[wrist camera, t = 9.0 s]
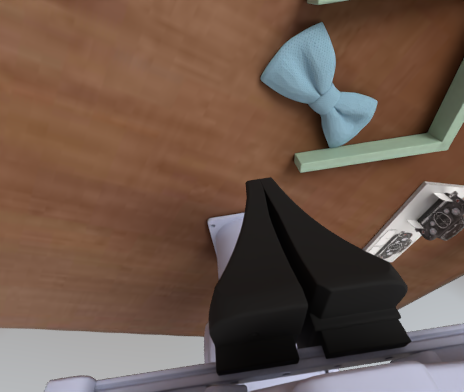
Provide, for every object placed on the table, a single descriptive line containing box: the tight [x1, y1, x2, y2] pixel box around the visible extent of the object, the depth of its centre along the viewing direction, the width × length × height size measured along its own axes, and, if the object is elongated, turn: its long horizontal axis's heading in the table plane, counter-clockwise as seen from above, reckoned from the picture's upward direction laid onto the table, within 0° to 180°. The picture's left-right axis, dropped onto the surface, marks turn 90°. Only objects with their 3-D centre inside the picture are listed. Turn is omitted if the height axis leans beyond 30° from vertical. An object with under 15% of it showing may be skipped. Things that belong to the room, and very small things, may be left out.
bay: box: [294, 0, 464, 173], centre depth 17 cm, size 13×14×2 cm
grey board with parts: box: [363, 181, 464, 262], centre depth 30 cm, size 15×7×4 cm, turn 169°
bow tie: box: [261, 22, 377, 148], centre depth 18 cm, size 10×2×5 cm
